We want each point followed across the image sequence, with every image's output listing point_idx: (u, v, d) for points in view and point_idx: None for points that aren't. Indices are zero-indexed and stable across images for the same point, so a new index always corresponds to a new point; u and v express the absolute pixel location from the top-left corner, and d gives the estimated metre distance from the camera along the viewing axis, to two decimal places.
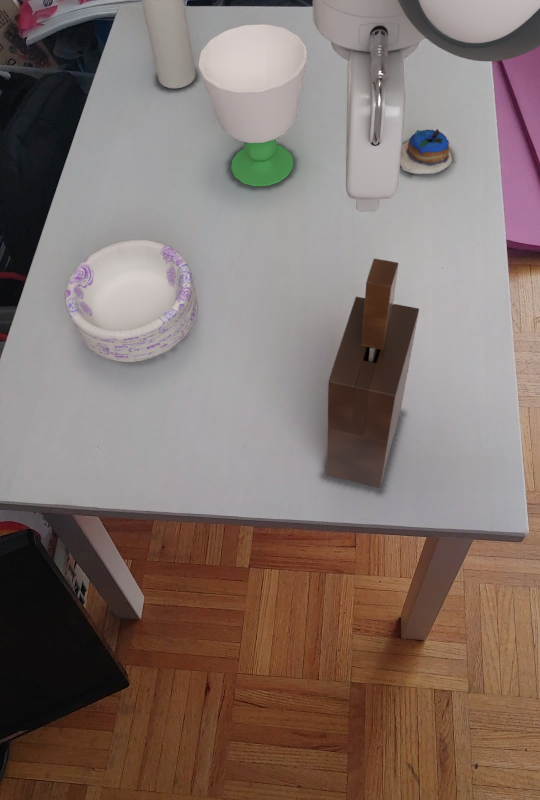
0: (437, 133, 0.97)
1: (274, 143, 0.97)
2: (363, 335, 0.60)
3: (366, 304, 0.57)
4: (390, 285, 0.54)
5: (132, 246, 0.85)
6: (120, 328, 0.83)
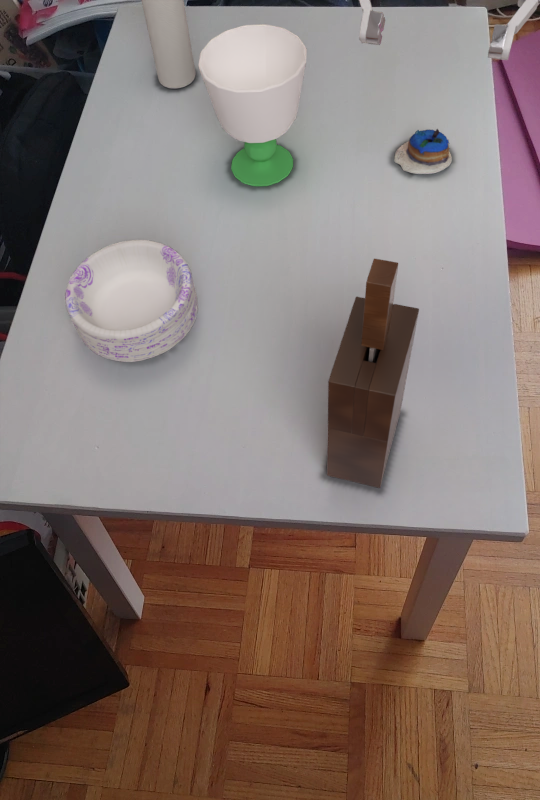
0: (437, 133, 0.97)
1: (274, 143, 0.97)
2: (363, 335, 0.60)
3: (366, 304, 0.57)
4: (390, 285, 0.54)
5: (132, 246, 0.85)
6: (120, 328, 0.83)
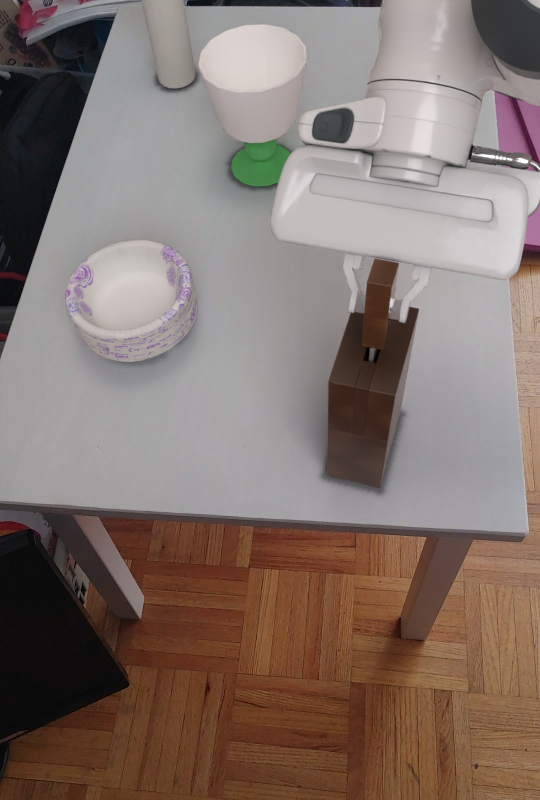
0: None
1: (274, 143, 0.97)
2: (363, 335, 0.60)
3: (367, 304, 0.57)
4: (391, 285, 0.54)
5: (132, 246, 0.85)
6: (120, 328, 0.83)
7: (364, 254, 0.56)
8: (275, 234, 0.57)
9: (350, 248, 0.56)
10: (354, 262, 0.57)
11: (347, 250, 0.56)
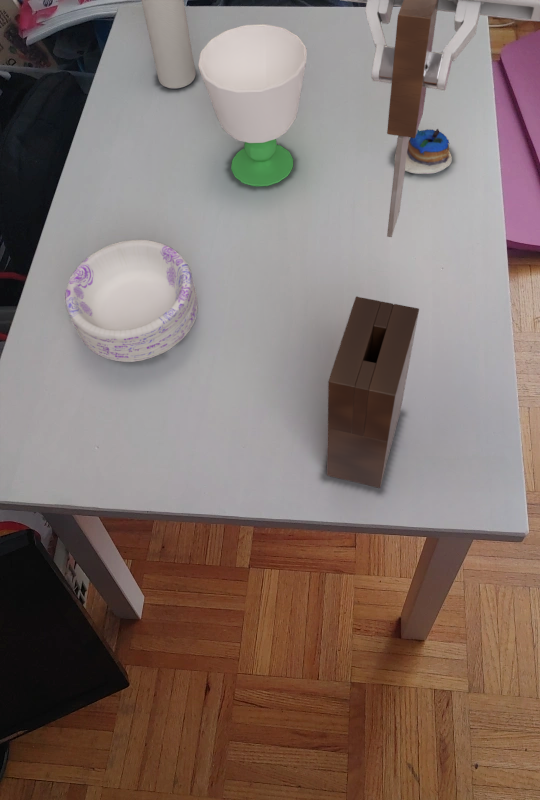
0: (437, 133, 0.97)
1: (274, 143, 0.97)
2: (390, 115, 0.47)
3: (396, 57, 0.44)
4: (429, 17, 0.41)
5: (132, 245, 0.85)
6: (120, 328, 0.83)
7: None
8: None
9: None
10: (380, 3, 0.44)
11: None
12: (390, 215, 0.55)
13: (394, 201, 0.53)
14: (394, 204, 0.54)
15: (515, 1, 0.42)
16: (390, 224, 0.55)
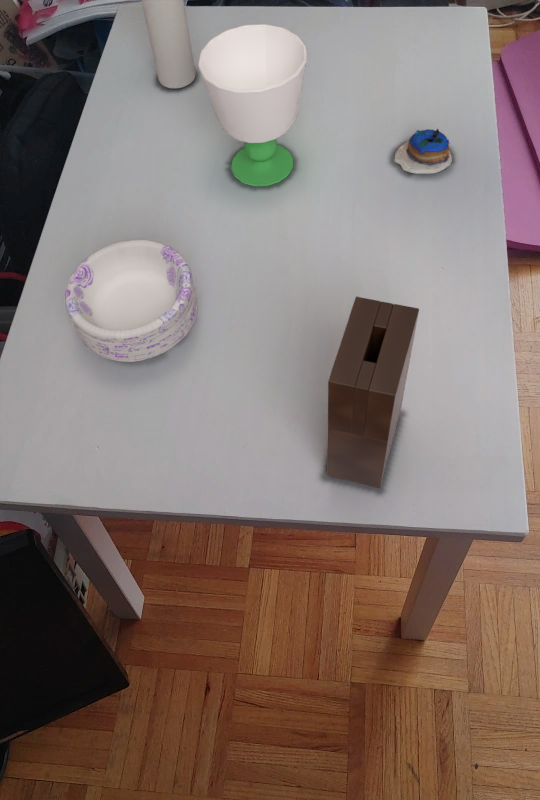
0: (437, 133, 0.97)
1: (274, 143, 0.97)
2: None
3: None
4: None
5: (132, 245, 0.85)
6: (120, 328, 0.83)
7: None
8: None
9: None
10: None
11: None
12: None
13: None
14: None
15: None
16: None
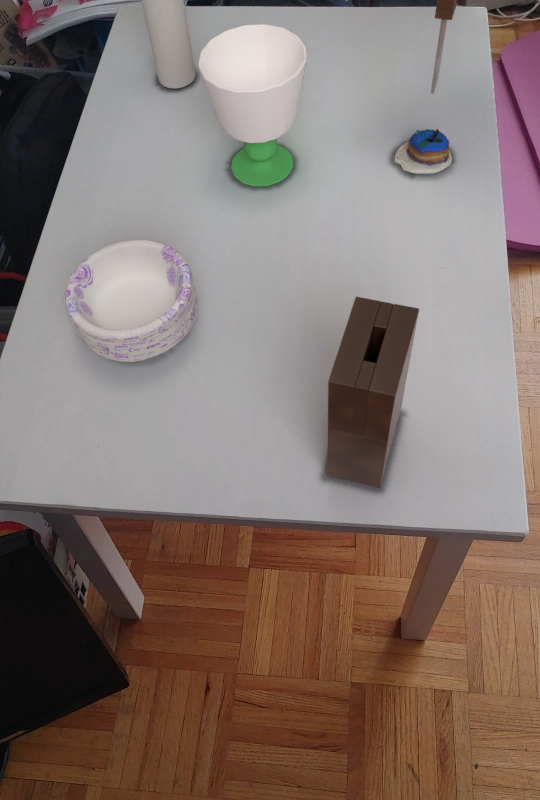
0: (437, 133, 0.97)
1: (274, 143, 0.97)
2: (437, 5, 0.80)
3: None
4: None
5: (132, 245, 0.85)
6: (120, 328, 0.83)
7: None
8: None
9: None
10: None
11: None
12: (433, 77, 0.87)
13: (436, 66, 0.86)
14: (436, 68, 0.86)
15: None
16: (433, 83, 0.88)
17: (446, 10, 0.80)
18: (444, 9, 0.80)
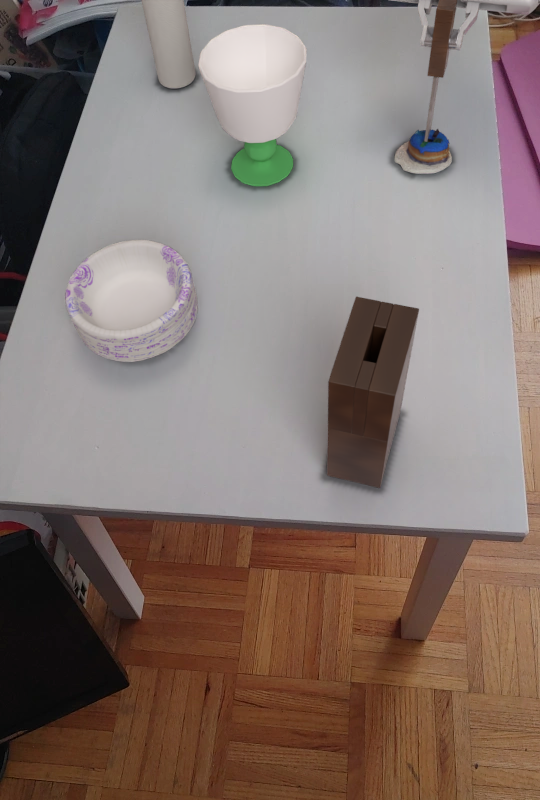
0: (437, 133, 0.97)
1: (274, 143, 0.97)
2: (429, 64, 0.86)
3: (434, 31, 0.83)
4: (453, 10, 0.80)
5: (132, 245, 0.85)
6: (120, 328, 0.83)
7: None
8: None
9: None
10: (425, 3, 0.83)
11: None
12: (427, 127, 0.93)
13: (429, 117, 0.92)
14: (429, 119, 0.92)
15: (497, 2, 0.81)
16: (426, 133, 0.94)
17: (438, 69, 0.86)
18: (436, 68, 0.86)
